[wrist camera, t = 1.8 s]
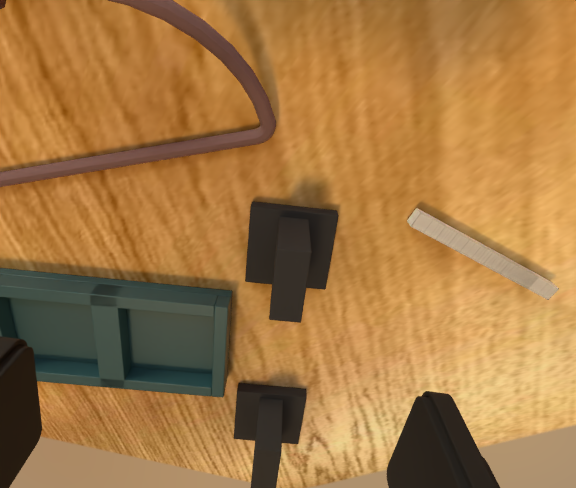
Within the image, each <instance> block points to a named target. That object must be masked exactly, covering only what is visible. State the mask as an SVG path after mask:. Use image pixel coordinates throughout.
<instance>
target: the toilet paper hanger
mask: <svg viewBox="0 0 576 488" xmlns="http://www.w3.org/2000/svg"><path fill="white" fill-rule="evenodd" d="M109 1H113V2H117V3H121V4H125V5H128V6H131V7H133V8H136V9H138V10H140V11H143V12H145V13H148V14H150V15H152V16H155V17H157V18H160V19H162V20H164V21H166V22H167V23H169V24H171V25H172V26H174V27H176V28H177V29H179V30H181V31H182V32H184V33H186V34H187V35H189V36H191V37H192V38H194V39H196V40H197V41H198V42H199V43H200V44H202V45H203V46H204V47H205V48H206V49H208V50H209V51H210V52H211V53H213V54H214V55H215V56H216V57H217V58H219V59H220V60H221V61H222V62H223V63H224V65H225V66H226V67H227V68H228V69H229V70H230V71H231V73H232V74H233V75H234V76H235V77H236V78H237V79H238V81H239V82H240V83H241V85H242V86H243V88H244V90H245V91H246V93H247V94H248V96H249V98H250V99H251V101H252V103H253V105H254V108H255V110H256V113H257V116H258V118H259V121H260V127H258V128H257V129H252V130H246V131H240V132H234V133H228V134H223V135H217V136H211V137H205V138H199V139H193V140H187V141H181V142H175V143H169V144H163V145H158V146H152V147H146V148H140V149H134V150H128V151H122V152H116V153H110V154H104V155H98V156H92V157H87V158H81V159H75V160H69V161H63V162H57V163H51V164H45V165H39V166H33V167H27V168H22V169H16V170H10V171H4V172H0V187H3V186H9V185H15V184H21V183H27V182H33V181H39V180H45V179H51V178H57V177H63V176H69V175H75V174H81V173H87V172H93V171H99V170H105V169H111V168H117V167H123V166H129V165H135V164H141V163H147V162H153V161H159V160H165V159H171V158H177V157H183V156H190V155H196V154H202V153H208V152H214V151H220V150H226V149H232V148H238V147H244V146H250V145H256V144H260V143H263V142H265V141H267V140H268V139H270V138H271V137H272V135H273V133H274V131H275V127H276V120H275V117H274V114H273V111H272V108H271V105H270V102H269V99H268V96H267V95H266V93H265V91H264V89H263V87H262V86H261V84H260V82H259V80H258V78H257V77H256V75H255V73H254V71H253V70H252V69H251V67H250V66H249V65H248V64H247V62H246V61H245V60H244V59H243V58H242V56H241V55H240V54H239V53H238V52H237V50H236V49H235V48H234V47H233V45H232V44H230V43H229V42H228V41H227V40H226V39H225V38H224V37H222V36H221V35H220V34H219V33H218V32H217V31H216V30H214V29H213V28H212V27H211V26H210V25H209V24H208V23H206V22H205V21H204V20H203V19H201V18H199V17H198V16H196V15H195V14H193V13H192V12H190V11H188V10H187V9H185V8H184V7H182V6H181V5H179V4H177V3H176V2H174V1H173V0H109ZM5 4H6V0H0V9H2V8H4V7H5Z"/></svg>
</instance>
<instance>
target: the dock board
mask: <svg viewBox="0 0 576 488" xmlns="http://www.w3.org/2000/svg"><path fill="white" fill-rule="evenodd" d="M231 307H232V291H230V290H219V289H209V288H199V287H189V286H179V285H169V284H158V283H148V282H138V281H128V280H118V279H107V278H97V277H87V276H77V275H67V274H57V273H46V272H36V271H26V270H16V269H6V268H0V337H8V338H16V339H23V340H25V341H26V342H27V346H28V347H32V348H33V351H34V360H35V369H36V378H37V381H42V382H53V383H64V384H76V385H87V386H99V387H110V388H121V389H133V390H144V391H155V392H167V393H178V394H189V395H201V396H211V395H212V396H213V397H223V396H224V392H225V387H226V382H227V376H228V359H229V342H230V324H231Z"/></svg>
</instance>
